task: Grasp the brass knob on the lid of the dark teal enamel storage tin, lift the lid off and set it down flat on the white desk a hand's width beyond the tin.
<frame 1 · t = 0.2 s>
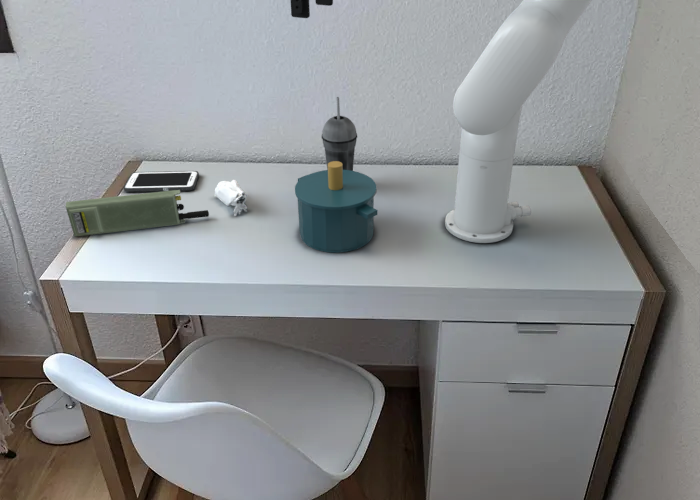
hand: (312, 10, 114), 37 cm above the table, tool pointing down, fingers open, 9 cm apart
handheld radio: (143, 227, 125), on the table
tin: (336, 233, 123), on the table
cell phone: (162, 184, 140), on the table
beverage cup: (340, 188, 138), on the table
bird figurine: (231, 205, 133), on the table
tin lid: (335, 190, 118), point 9 cm above the table, touching tin
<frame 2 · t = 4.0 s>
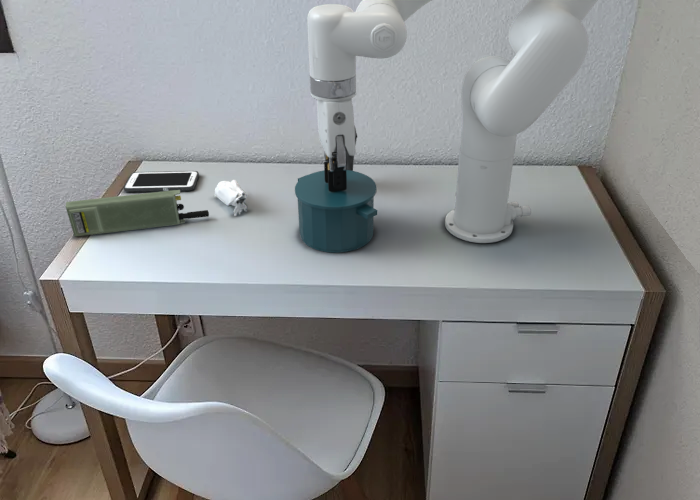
hand: (335, 185, 117), 10 cm above the table, tool pointing down, fingers closed on tin lid, 2 cm apart
tin lid: (335, 190, 118), point 9 cm above the table, touching gripper, tin
everything else where it was.
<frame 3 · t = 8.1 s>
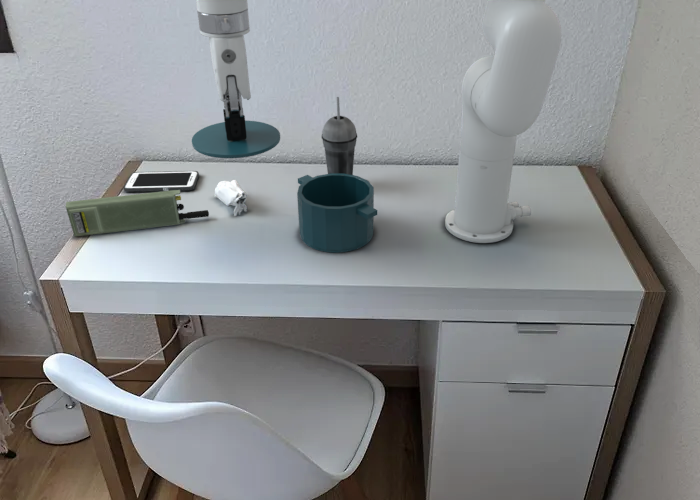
hand: (236, 134, 109), 21 cm above the table, tool pointing down, fingers closed on tin lid, 2 cm apart
tin lid: (236, 140, 110), point 20 cm above the table, touching gripper
everything else where it was.
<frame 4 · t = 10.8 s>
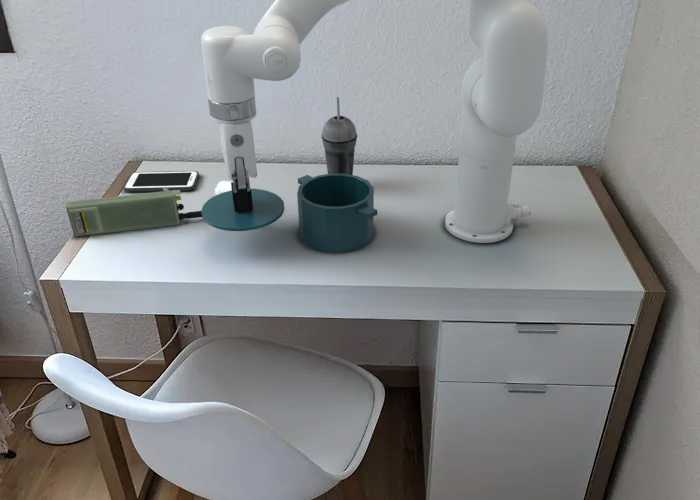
hand: (243, 205, 116), 7 cm above the table, tool pointing down, fingers closed on tin lid, 2 cm apart
tin lid: (243, 210, 117), point 6 cm above the table, touching gripper
everything else where it was.
when the fingers open (2 cm above the table, at t = 12.4 s): tin lid stays where it is, point 1 cm above the table.
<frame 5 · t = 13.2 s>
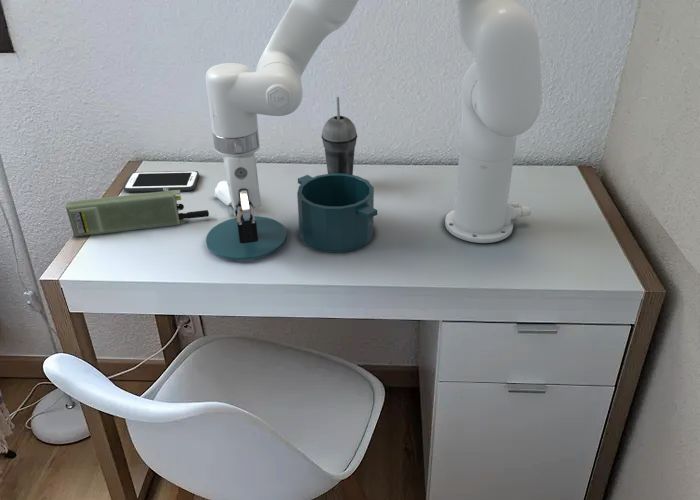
hand: (246, 227, 119), 3 cm above the table, tool pointing down, fingers open, 9 cm apart
tin lid: (246, 238, 120), point 1 cm above the table
everything else where it was.
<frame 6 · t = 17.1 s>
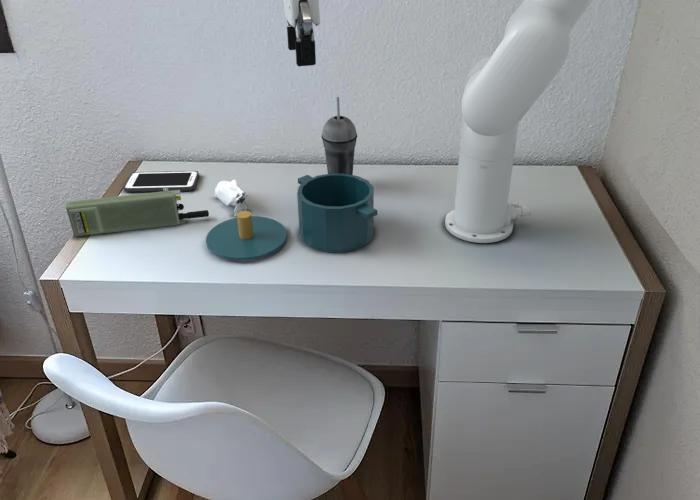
hand: (301, 56, 114), 30 cm above the table, tool pointing down, fingers open, 9 cm apart
nothing on the table moved.
at the end: tin lid inside the target area (0.1 cm from its centre), point 0.6 cm above the table; tin lid tilted 0°; the gripper is holding nothing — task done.
